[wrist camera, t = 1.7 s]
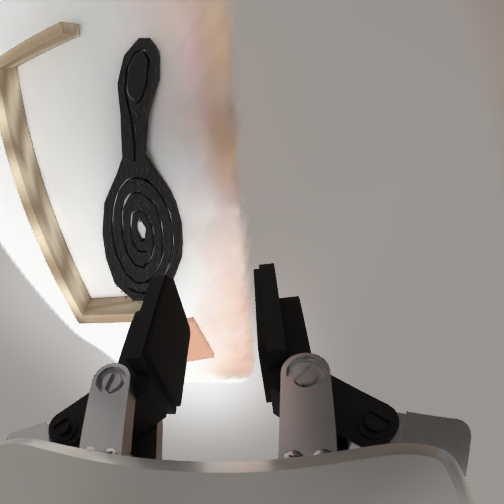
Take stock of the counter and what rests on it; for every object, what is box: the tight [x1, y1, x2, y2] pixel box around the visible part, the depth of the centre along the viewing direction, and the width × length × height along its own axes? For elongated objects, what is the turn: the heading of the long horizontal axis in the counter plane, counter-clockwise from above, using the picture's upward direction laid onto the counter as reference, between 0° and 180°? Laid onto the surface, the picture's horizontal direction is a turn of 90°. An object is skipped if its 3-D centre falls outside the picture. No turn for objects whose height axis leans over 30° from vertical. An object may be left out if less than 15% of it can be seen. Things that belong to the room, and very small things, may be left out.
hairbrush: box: [103, 38, 183, 304], centre depth 25 cm, size 8×4×25 cm
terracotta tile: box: [187, 318, 214, 362], centre depth 38 cm, size 7×7×1 cm
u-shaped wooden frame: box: [0, 22, 143, 323], centre depth 25 cm, size 30×9×3 cm, turn 6°
